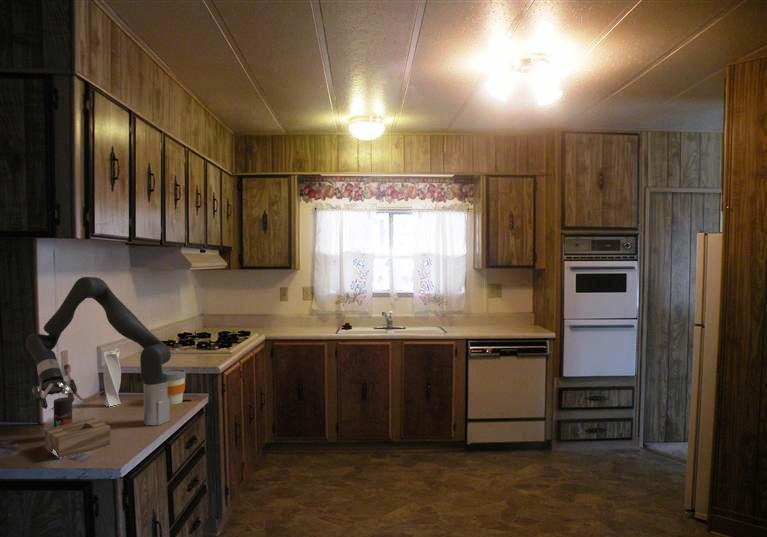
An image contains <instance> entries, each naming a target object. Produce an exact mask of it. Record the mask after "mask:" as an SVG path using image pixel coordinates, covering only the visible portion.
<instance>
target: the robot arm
mask: <svg viewBox="0 0 767 537" xmlns="http://www.w3.org/2000/svg"><path fill="white" fill-rule="evenodd" d="M86 299H93V300H94V301H96V302H97V304H99V305H100V306H101V307H102V308H103V310H104V312H105V316H106V318H107V321H108V323H109V324H110V325H111V326H112V328H114V330H116V332H117V333H119V334H120V335H121V336H123V337H125V338H127V339H128V340H130V341H133V342H134V343H135V344H138V345H140V347H141V348H143V350H142V351H141V353H140V362H139V363H140V364H139V365H140V375H141V378H142V382H143V425H144V424H145V425H144V426H149V425H151V426H160V425H162V424H165V423H168V422H169V421H170V419H171V418H170V417H171V416H170V414H171V413H170V412H171V409H170V407H171V405H170V400H169V399H168V385H167V374H165V373H163V365H164V364H166V363H168V362H169V361H171V360H170V359H171V356H172V354H171V349H170V348H169V347H168V346H167V344H165V343H164V342H163V341H161V340H160V339H159V338H158V337H157V336H155V335H154V334H153V333H152V332H151V331H150V330H149V329H148V328H147V326H145V325H144V324H143V322H141V320H139V319H138V317H137V316H136V315H135V314H134V313H133V312H132V311H131V310H130V309H129V308H128V307H127V306H126V305H125V303H123V302H122V301H121V300H120V299H119V298H118V297H117V296H116V295H115V293H114V292H113V291H112V289H111V288H110V286H108V284H107V283H106V282H105V281H104V280H103V279H102V278H99V277H97V276H94V277H93V276H92V277H91V276H84V277H80V278H79V279H77V280H76V281H75V282H74V284H73V285H72V287H71V289H70V290H69V292H68V294H67V296H66V297H65V299H64V300H63V302H62V304H61V305H60V306H59V308H58V309H57V310H56V311H55V312H54V314H53V315H52V316H51V317H50V318H49V319H48V321H47V322H46V323H44V326H43V330H44V332H45V333H46V334H44V333H43V334H42V333H37V332H36V333H32V334H30V335H28V337H27V338H26V340H25V347H26V350H27V351H28V352H29V354H30V355H31V356H32V358H33V359H34V361H35V363H36V368H37V369H36V370H37V376H38V378H39V382H40V386H38V385H33V387H32V390H31V391H32V398H33V401H34V402H40V405H41V407H42V409H44V410H46V409H48V402H47V397H48V395H50V396H53V395H55V394H60V393H61V394H63V395H66V396H67V397H72V403H73V402H74V401H75V396H74V395H77V394H76V393H77V391H78V388H77V385H76V382H75V380H74V379H73V378H71V379H70V380H67V381H66V380H65V379H64V377H63V373H62V370H61V365H60V364H59V361H58V359H57V356H56V353H55V351H53V350H54V349H55V347H56V346H57V344H58V341H59V340H60V337H61V335H62V333H63V332H64V331H65V329H66V328H68V326H69V325H70V323H71V322H72V321H73V319H74V315H75V314H76V313H75V312H76V310H77V308H78V307H79V305H81V303H83V302H84V301H85V300H86ZM69 387H70V388H69ZM40 390H41V391H42V392H43V393H42V394H41V395H39V394H40V393H39V392H40Z"/></svg>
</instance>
